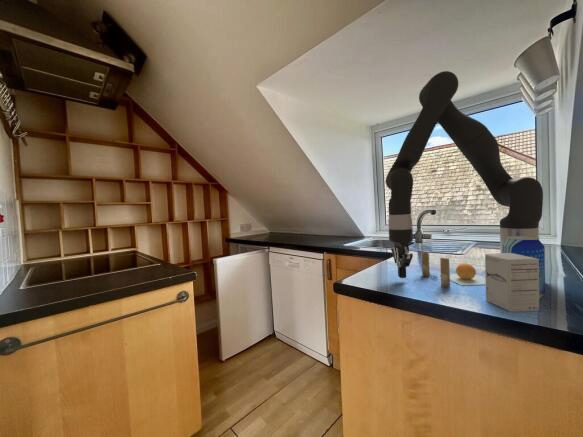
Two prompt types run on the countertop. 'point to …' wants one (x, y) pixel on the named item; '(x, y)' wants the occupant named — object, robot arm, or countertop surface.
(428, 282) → the countertop surface
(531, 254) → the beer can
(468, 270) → the ball
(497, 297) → the supplement box
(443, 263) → the near post
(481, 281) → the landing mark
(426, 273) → the far post
